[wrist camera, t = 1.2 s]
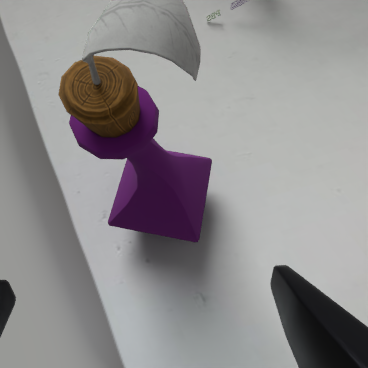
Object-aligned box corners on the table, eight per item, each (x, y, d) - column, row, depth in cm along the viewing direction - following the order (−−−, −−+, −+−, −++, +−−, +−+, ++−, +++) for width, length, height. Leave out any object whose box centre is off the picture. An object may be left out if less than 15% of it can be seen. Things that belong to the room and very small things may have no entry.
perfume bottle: (117, 230, 21) (-120, 95, 5) (137, 160, 24) (35, -96, 7) (196, 246, 21) (259, 161, 4) (208, 172, 24) (278, -67, 7)
